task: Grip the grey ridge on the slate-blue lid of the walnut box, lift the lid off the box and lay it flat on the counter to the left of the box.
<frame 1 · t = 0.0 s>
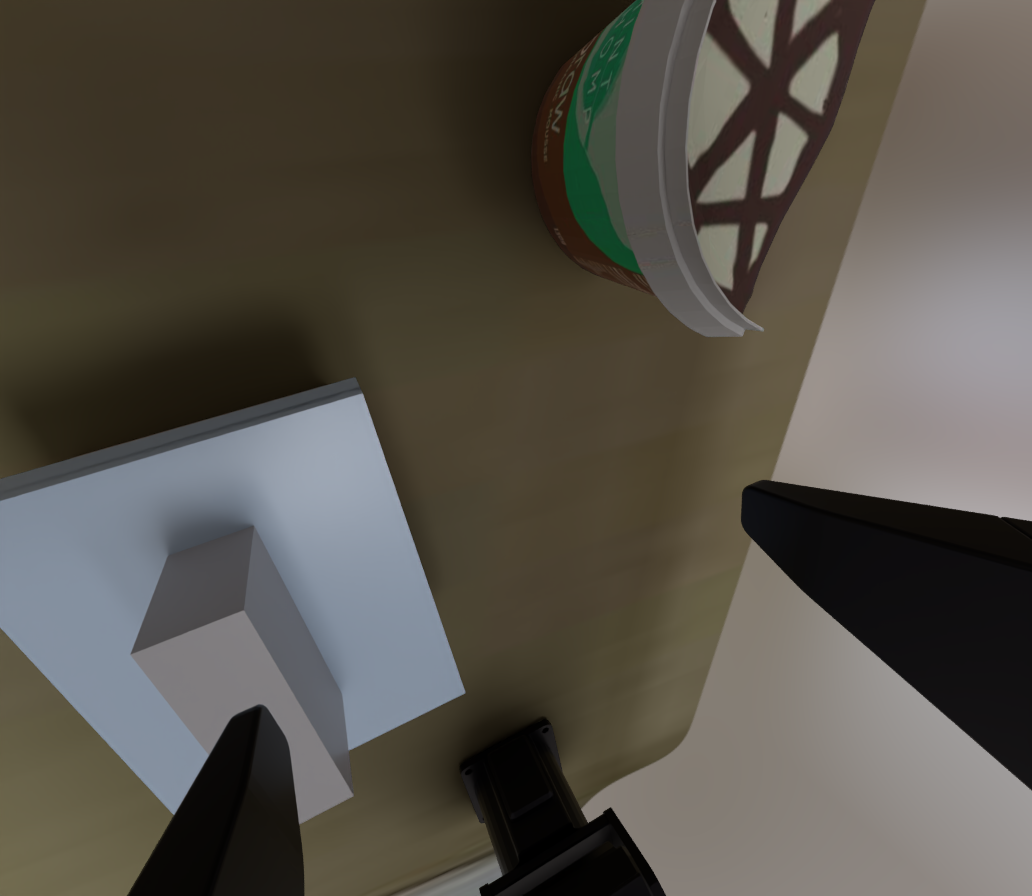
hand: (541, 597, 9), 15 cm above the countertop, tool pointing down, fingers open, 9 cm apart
food container: (574, 137, 20), on the countertop
lid: (267, 618, 17), point 5 cm above the countertop, touching box
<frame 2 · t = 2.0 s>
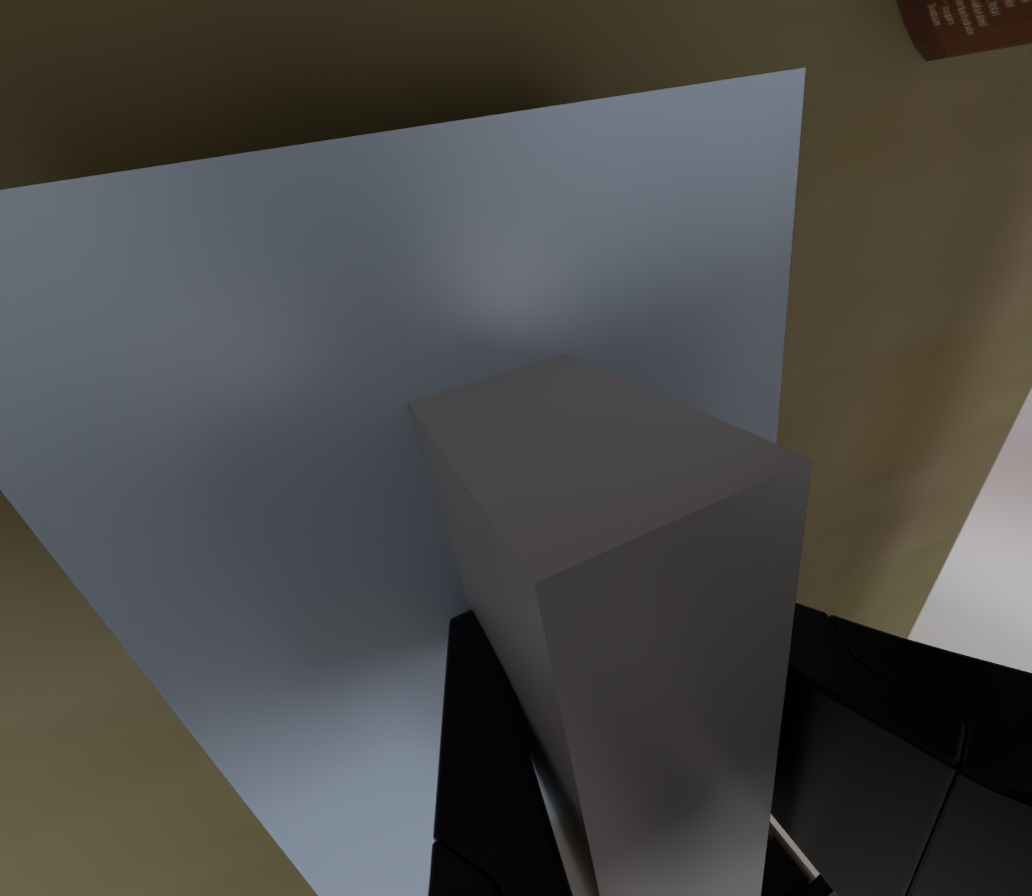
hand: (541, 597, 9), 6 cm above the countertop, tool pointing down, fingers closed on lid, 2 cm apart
lid: (517, 563, 9), point 5 cm above the countertop, touching box, gripper
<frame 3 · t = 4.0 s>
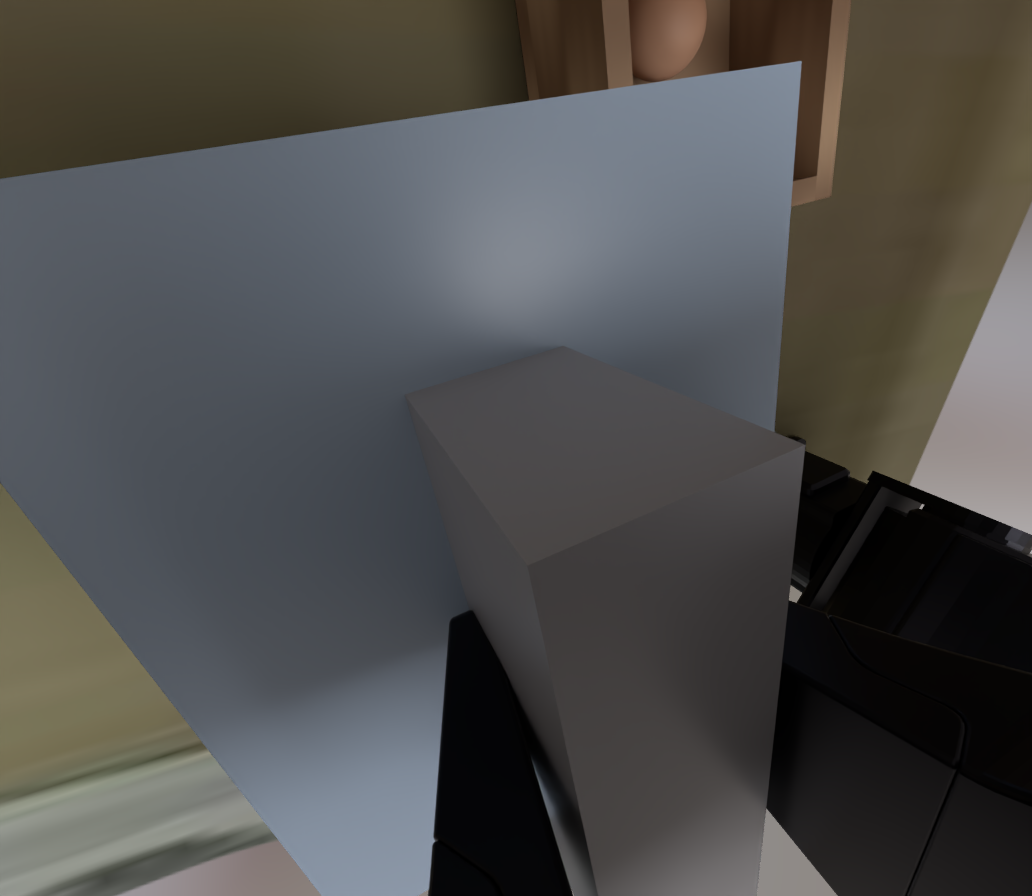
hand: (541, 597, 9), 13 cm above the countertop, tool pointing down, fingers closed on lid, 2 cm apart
lid: (515, 557, 9), point 12 cm above the countertop, touching gripper
box: (633, 48, 18), on the countertop
when the fingers open (3 cm above the countertop, at t = 6.0 s): lid stays where it is, point 1 cm above the countertop.
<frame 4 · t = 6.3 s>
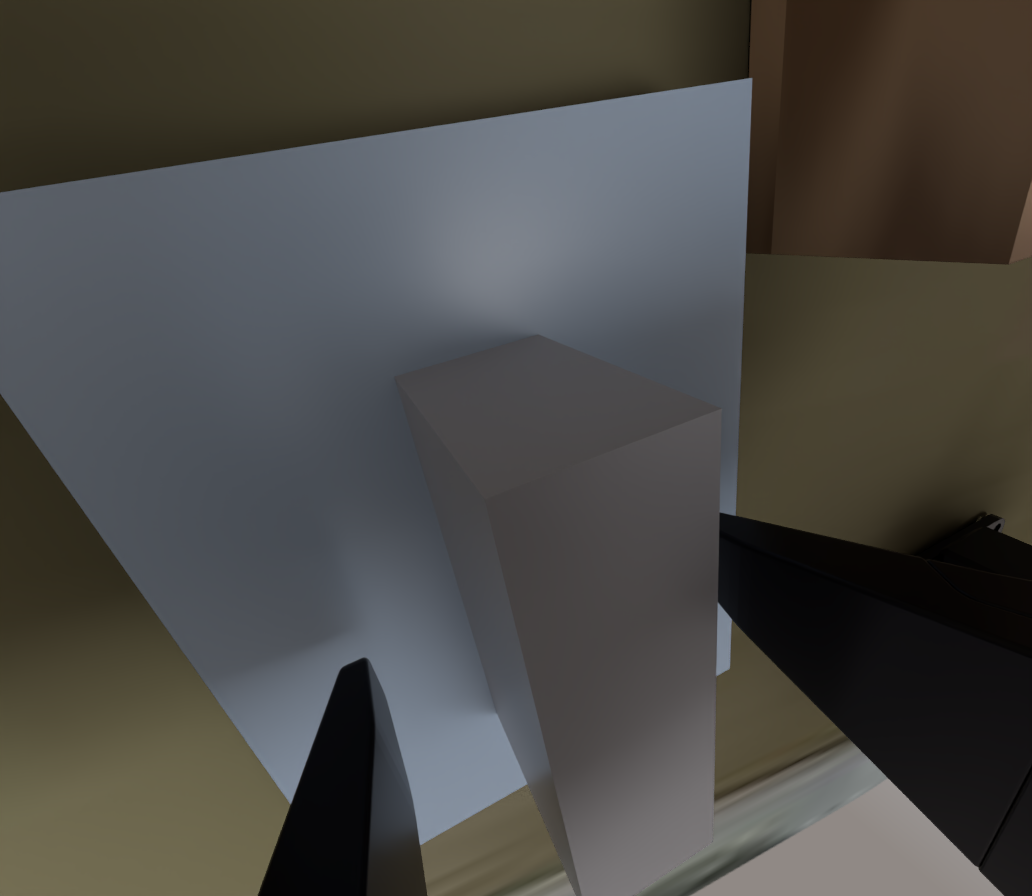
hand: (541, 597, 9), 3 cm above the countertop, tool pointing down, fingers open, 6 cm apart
lid: (499, 532, 10), point 1 cm above the countertop
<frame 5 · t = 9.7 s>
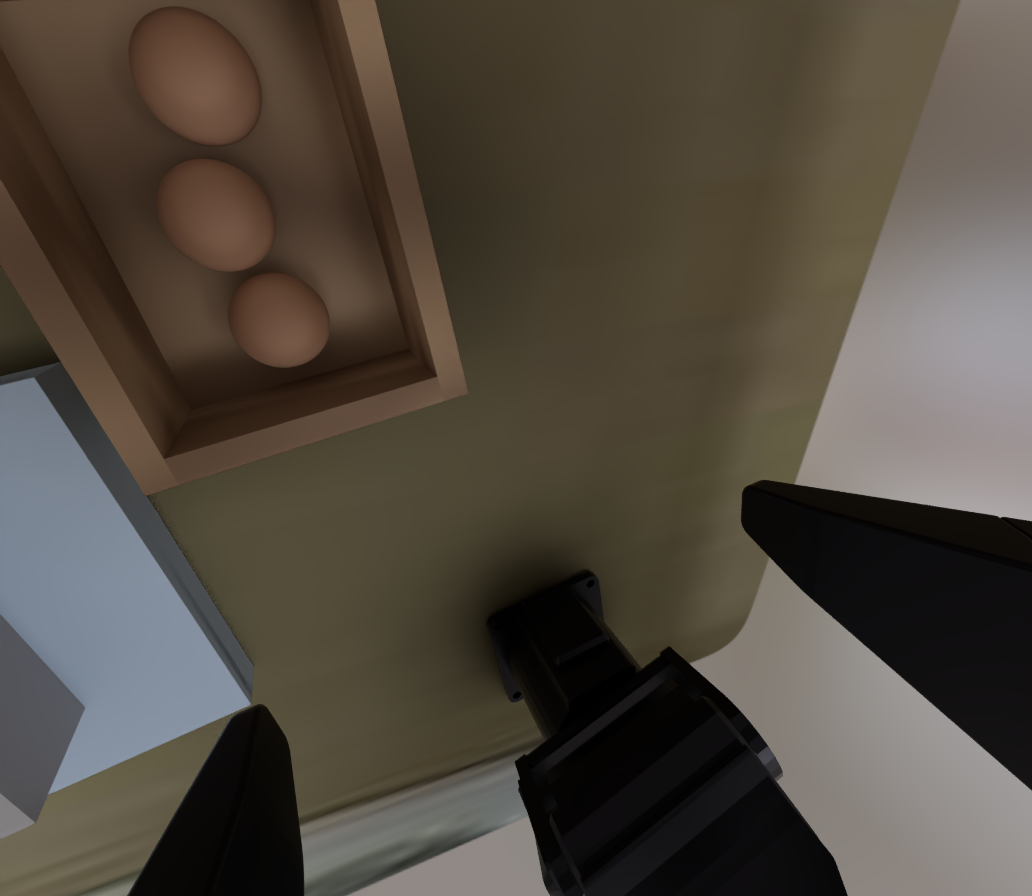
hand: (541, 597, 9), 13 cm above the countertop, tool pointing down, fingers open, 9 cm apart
box: (244, 216, 16), on the countertop
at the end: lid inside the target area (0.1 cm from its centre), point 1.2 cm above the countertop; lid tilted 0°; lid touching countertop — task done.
